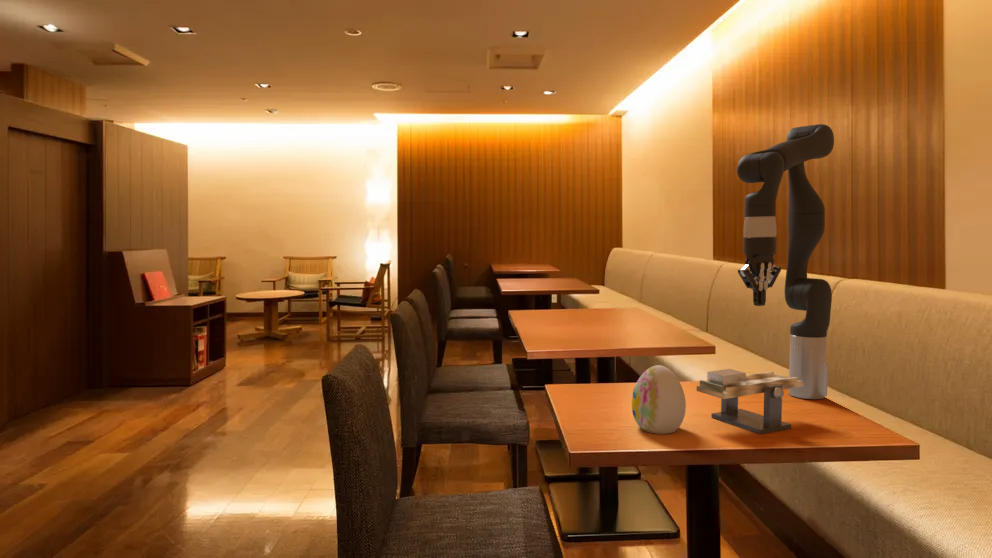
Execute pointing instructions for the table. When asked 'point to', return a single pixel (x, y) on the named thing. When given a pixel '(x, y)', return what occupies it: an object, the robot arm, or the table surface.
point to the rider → (727, 378)
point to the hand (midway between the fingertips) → (759, 305)
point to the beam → (749, 385)
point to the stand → (753, 420)
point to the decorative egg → (658, 401)
